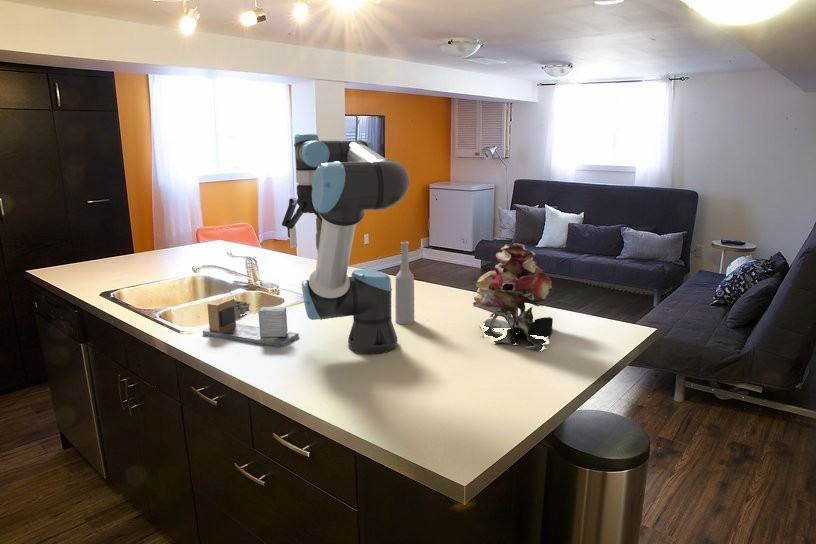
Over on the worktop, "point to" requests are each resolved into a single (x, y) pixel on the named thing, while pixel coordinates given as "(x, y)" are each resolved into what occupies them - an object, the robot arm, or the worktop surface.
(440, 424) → the worktop surface
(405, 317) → the bottle
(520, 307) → the rose bouquet
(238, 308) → the egg carton
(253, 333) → the rail
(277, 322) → the medicine box
